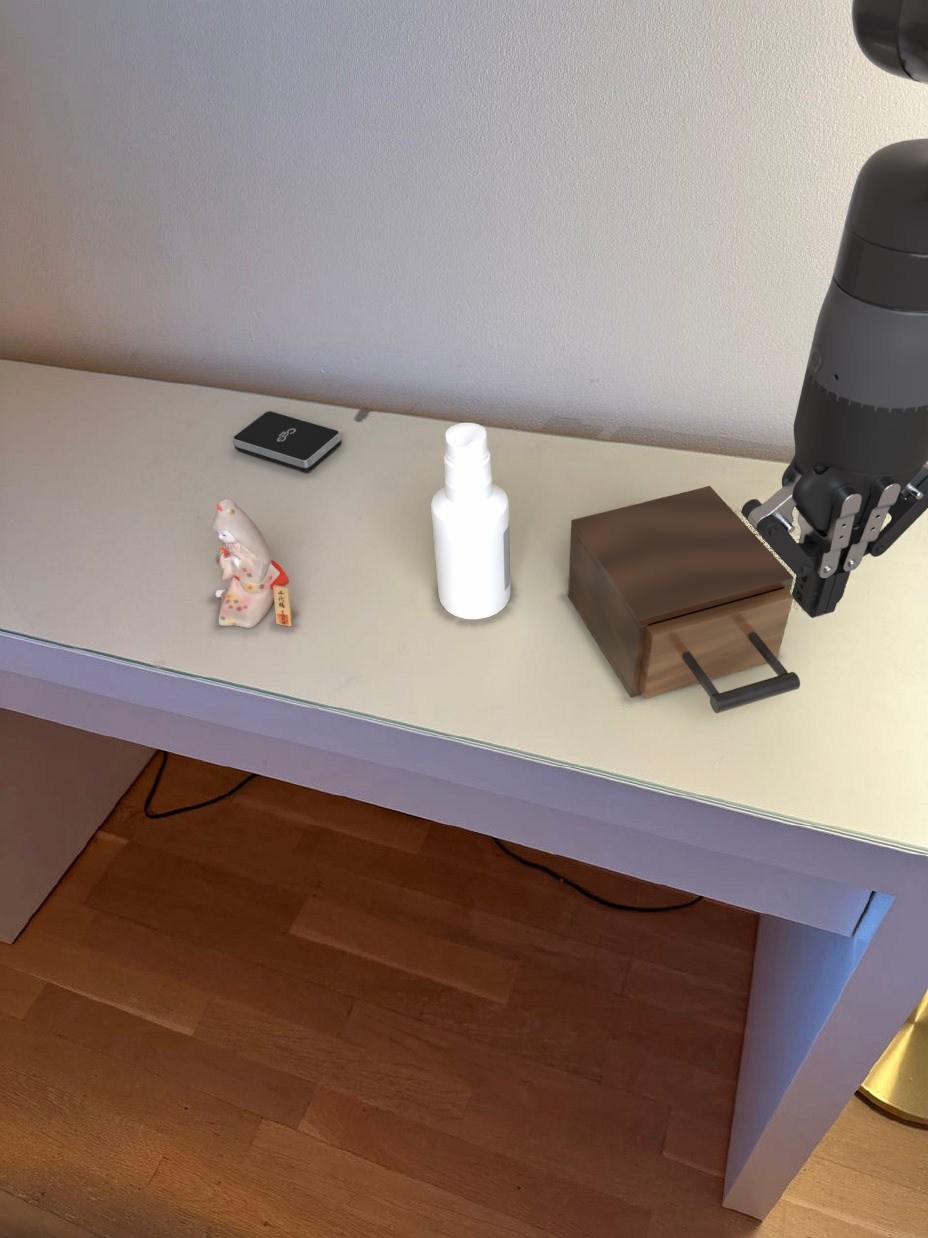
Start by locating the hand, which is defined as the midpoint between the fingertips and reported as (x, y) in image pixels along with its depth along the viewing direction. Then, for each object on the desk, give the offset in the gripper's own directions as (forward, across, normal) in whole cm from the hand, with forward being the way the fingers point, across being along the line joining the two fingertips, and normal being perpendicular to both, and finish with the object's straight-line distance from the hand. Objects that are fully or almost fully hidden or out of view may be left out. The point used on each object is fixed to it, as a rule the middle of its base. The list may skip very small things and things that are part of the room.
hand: (814, 606), depth 60 cm
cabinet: (+17, 0, +17) cm, 24 cm away
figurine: (+17, -35, +33) cm, 51 cm away
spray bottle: (+17, -15, +27) cm, 35 cm away
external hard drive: (+17, -27, +59) cm, 67 cm away
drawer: (+16, 0, +12) cm, 20 cm away
